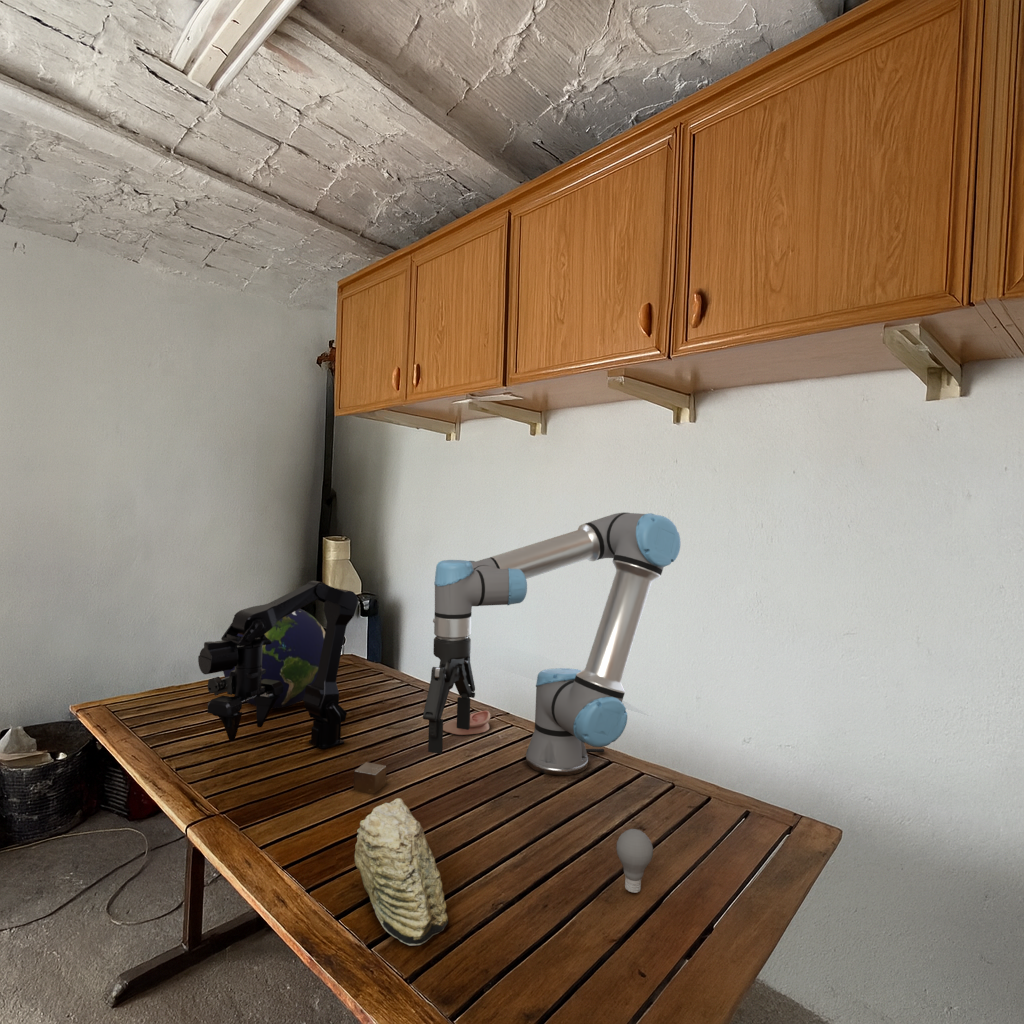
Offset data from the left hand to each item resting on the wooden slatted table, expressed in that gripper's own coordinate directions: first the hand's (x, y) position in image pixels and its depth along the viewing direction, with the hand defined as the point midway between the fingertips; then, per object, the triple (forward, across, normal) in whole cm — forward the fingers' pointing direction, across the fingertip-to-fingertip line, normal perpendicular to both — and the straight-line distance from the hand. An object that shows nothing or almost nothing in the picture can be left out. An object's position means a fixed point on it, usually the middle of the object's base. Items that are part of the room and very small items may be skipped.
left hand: (246, 733), depth 145 cm
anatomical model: (+8, -45, +37) cm, 59 cm away
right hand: (-6, +1, +50) cm, 51 cm away
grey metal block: (+8, -3, +30) cm, 32 cm away
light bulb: (+8, +14, +89) cm, 91 cm away
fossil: (+8, +32, +55) cm, 64 cm away
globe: (+8, -39, -21) cm, 45 cm away
